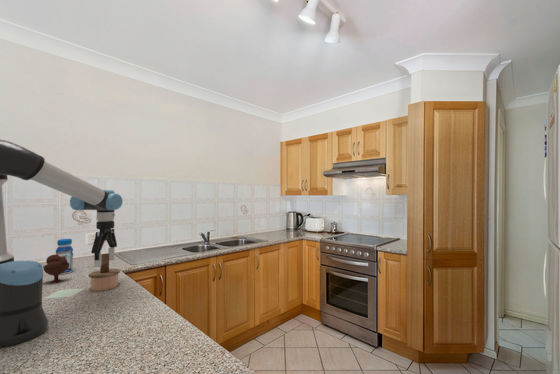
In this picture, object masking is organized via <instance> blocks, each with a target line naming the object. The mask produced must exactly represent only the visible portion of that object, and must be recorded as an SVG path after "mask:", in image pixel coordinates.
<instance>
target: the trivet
mask: <svg viewBox="0 0 560 374" xmlns="http://www.w3.org/2000/svg"><path fill="white" fill-rule="evenodd" d="M85 289H86V288H69V289H68V288H67V289H59V290H57V291H55V292H53V293H51V294H49V295H48V296H46V297H44V298H43V299H45V300H46V299H58V298H59V299H60V298H72V297H74V296H75V295H77V294H79V293H80V292H82V291H83V290H85Z"/></svg>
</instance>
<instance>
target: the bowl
mask: <svg viewBox="0 0 560 374" xmlns="http://www.w3.org/2000/svg"><path fill="white" fill-rule="evenodd" d="M118 285H119V273H118V274H116V275H113V276H109V277H103V278H90V291H92V292H102V291H107V290H111V289H114V288H117V287H118Z"/></svg>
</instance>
